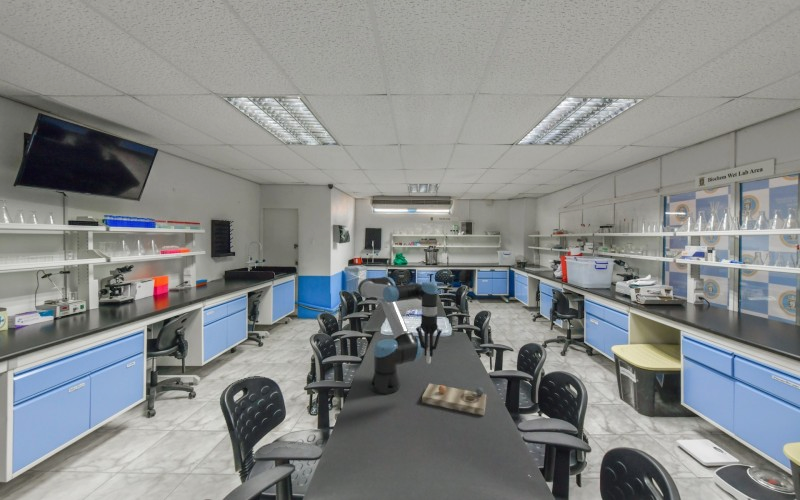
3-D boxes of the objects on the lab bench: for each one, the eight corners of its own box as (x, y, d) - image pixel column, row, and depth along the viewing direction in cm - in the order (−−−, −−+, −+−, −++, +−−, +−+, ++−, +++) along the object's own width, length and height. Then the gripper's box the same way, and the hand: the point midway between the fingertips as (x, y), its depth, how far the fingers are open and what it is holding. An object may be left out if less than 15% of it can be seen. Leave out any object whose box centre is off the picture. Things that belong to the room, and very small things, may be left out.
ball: (437, 393, 142) (437, 386, 142) (439, 390, 145) (439, 383, 145) (445, 395, 141) (445, 388, 141) (446, 391, 144) (446, 384, 144)
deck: (422, 402, 140) (422, 396, 140) (429, 389, 152) (429, 383, 152) (483, 415, 130) (484, 409, 130) (486, 400, 142) (486, 394, 142)
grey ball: (475, 396, 140) (475, 388, 140) (476, 392, 143) (476, 385, 143) (483, 397, 139) (483, 390, 139) (483, 393, 142) (483, 386, 142)
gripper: (413, 315, 142) (413, 363, 143) (440, 317, 138) (440, 367, 139) (418, 311, 149) (418, 357, 150) (444, 313, 145) (443, 361, 146)
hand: (428, 362), depth 145 cm, fingers closed
